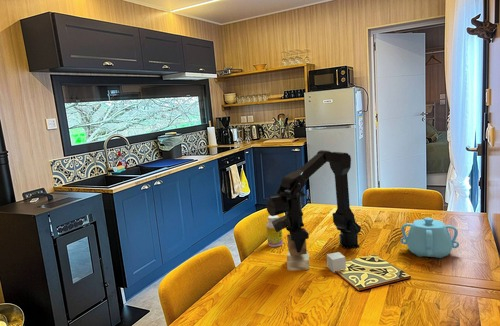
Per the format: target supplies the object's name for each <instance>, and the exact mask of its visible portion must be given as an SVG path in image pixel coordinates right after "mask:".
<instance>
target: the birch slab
mask: <svg viewBox="0 0 500 326" xmlns="http://www.w3.org/2000/svg"><path fill="white" fill-rule="evenodd" d="M308 255H309V251H307V254H303V255H294V256H291V255H290V253H289V251H288V252H287V253H286V256H287V257H286V266H287V267H286V268H287V271H309V270H310V258H309V257H310V256H309V257H308Z"/></svg>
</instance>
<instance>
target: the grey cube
mask: <svg viewBox="0 0 500 326" xmlns="http://www.w3.org/2000/svg"><path fill="white" fill-rule="evenodd" d="M326 266H327V268H328V269H329V270H330V271H331V272H332V273H336V272H335V271H337V270H341V269H346V270H347V263H346V256H345V255H343V254H342V253H341V252H340V251H337V252H336V251H335V252H333V253H332V252H331V253H327V254H326Z"/></svg>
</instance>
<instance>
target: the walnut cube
mask: <svg viewBox="0 0 500 326" xmlns="http://www.w3.org/2000/svg"><path fill="white" fill-rule="evenodd" d="M286 239H287V250H288V252H289V253H290V255H291V256H294V255H303V254H307V239H306V240H305V242H304V244H303V247H302V249H301V252H300V253H297V250H296V246H295V242H294V241H293V240H291V239H290V234H286Z"/></svg>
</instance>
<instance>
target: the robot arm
mask: <svg viewBox="0 0 500 326" xmlns="http://www.w3.org/2000/svg"><path fill="white" fill-rule="evenodd" d="M326 163H329V168H330V170H331V171H332V173H333V175H334V184H335V185H334V186H335V196H336V210H335V212H332V223H333V224H334V226H335V227H336V229H337V231H340V233H339V235H338V236H339V237H338V238H339V245H341V247H342V248H343V249H351V248H352V249H353V248H359V247H360V244H359V238H358V234H359V233H361V229H362V226H361V225H360V224H359V223H357V222H356V218H355V214H354V213H353V211H352V209H351V207H350V206H351V205H350V193H349V179H348V173H349V171H350V169H351V165H352V157H351V155H350V154H349V153H348V152H341V151H340V152H339V151H330V150H323V149H322V150H318V151H317V152H316V154H315V155H313V156H312V158H311V159H309V160H308V161H307V162H305V164H304V165H302V166H301V167H300V168H299V169H297V170H296V171H292V172H290V173H288V174H287V175H285V176H283V178H282V179H281V182H280V185H279V188H278V189H277V192H276V195H274V196H269V197H268V201H267V203H266V206H265V207H266V212H267V213H268V214H269V216H270V215H271V216H275V215H278V216H279V215H282V214H284V215H283V216H280V217H278V219H276V220H274V221H272V224H273V226H274V228H275V230H276V232H279V231H280V230H282V231H283V230H284V229H286V231H287V232H289V235H290V239H291V240H293V241H294V242H295V246H296V250H297V253H300V252H301V249H302V247H303V244H304V242H305V240H306V241H307V240H308V239H309V238H310V237H309V236H310V235H309V232H308V230H307V229H306V228H305V224H304V222H303V220H304V219H303V217H304V212H303V209H302V197H306V193H305V192H304V191H302V190H303V189H304V187H305V186H306V185H307V180H309V178H311V176H313V175H314V174H315V173H316V172H317V171H318V170H319V169H321V168H322V167H323V166H324V165H325V164H326Z"/></svg>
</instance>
